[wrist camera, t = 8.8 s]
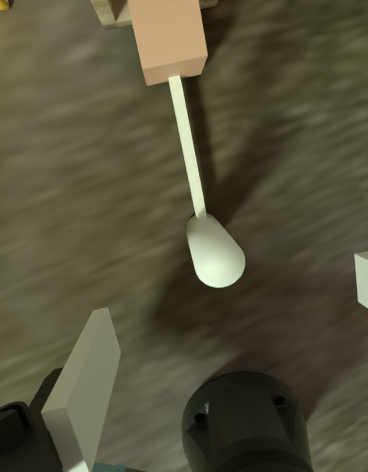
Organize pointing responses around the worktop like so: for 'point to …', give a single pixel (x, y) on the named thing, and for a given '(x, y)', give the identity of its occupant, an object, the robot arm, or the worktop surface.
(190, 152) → the tethered block
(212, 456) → the robot arm
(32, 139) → the worktop surface
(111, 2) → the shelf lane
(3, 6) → the beverage box
